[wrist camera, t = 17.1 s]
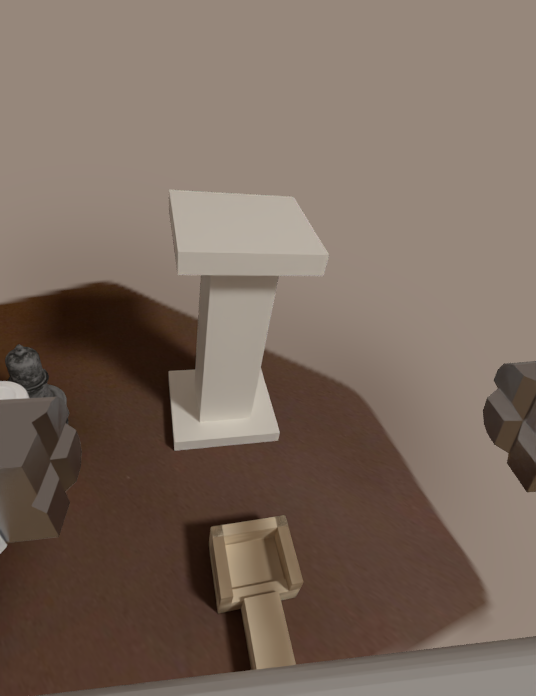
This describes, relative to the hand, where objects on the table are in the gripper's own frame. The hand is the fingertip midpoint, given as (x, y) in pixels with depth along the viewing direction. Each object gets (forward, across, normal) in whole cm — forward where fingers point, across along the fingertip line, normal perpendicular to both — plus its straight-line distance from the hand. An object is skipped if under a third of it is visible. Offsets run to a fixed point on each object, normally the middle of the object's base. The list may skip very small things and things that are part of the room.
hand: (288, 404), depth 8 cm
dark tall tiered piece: (+30, -23, -29) cm, 48 cm away
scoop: (+8, 0, -35) cm, 36 cm away
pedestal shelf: (+34, -4, -32) cm, 46 cm away
